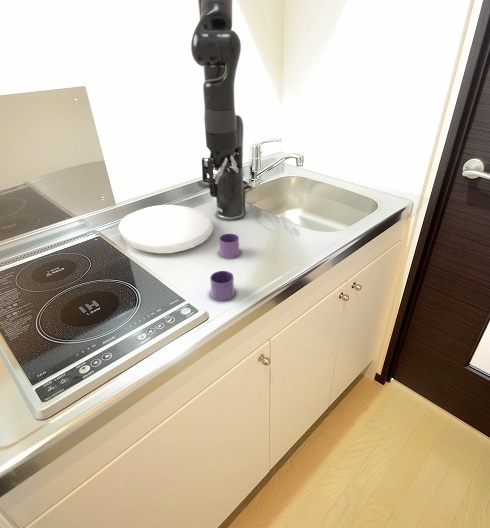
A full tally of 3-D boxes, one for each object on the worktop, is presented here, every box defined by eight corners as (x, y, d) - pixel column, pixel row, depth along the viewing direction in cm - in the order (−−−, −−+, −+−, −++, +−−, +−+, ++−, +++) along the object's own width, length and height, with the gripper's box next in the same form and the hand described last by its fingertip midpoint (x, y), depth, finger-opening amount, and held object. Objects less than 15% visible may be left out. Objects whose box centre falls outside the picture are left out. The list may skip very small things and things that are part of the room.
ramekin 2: (222, 284, 93) (221, 268, 90) (238, 292, 90) (238, 276, 88) (206, 295, 89) (205, 278, 87) (223, 303, 87) (222, 286, 84)
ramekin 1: (228, 246, 110) (228, 231, 107) (243, 252, 107) (242, 237, 104) (216, 254, 106) (215, 238, 103) (230, 260, 103) (229, 244, 100)
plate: (228, 215, 116) (173, 253, 97) (227, 233, 120) (174, 272, 100) (160, 190, 125) (96, 219, 106) (161, 207, 129) (100, 239, 109)
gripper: (224, 120, 95) (227, 180, 104) (189, 131, 84) (196, 197, 93) (249, 124, 92) (250, 185, 101) (216, 136, 81) (220, 203, 90)
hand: (224, 191), depth 97 cm, fingers open, 8 cm apart
